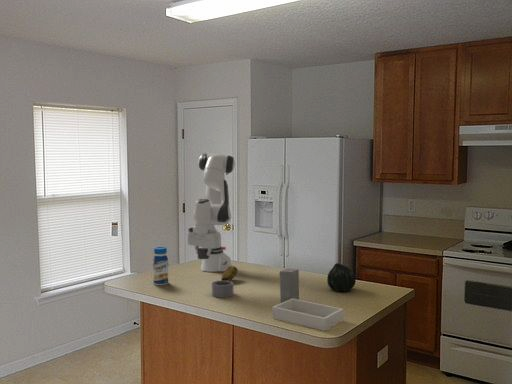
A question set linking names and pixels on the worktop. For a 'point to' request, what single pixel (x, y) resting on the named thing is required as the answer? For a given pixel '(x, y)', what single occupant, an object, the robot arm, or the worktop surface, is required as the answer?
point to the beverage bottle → (160, 266)
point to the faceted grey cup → (222, 289)
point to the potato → (229, 273)
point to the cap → (202, 253)
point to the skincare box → (289, 284)
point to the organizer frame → (286, 314)
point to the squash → (341, 278)
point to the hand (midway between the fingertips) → (203, 255)
